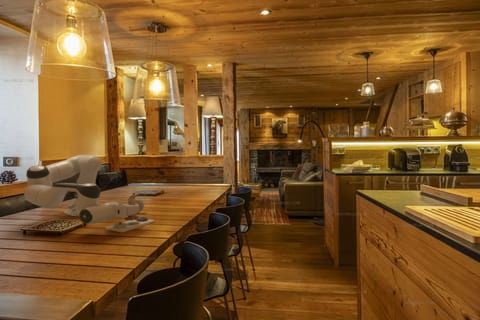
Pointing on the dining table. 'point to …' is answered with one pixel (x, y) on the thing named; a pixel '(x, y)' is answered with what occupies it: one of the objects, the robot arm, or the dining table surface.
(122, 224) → the gear board
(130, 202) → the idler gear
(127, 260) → the dining table surface
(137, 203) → the donut
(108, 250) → the dining table surface
